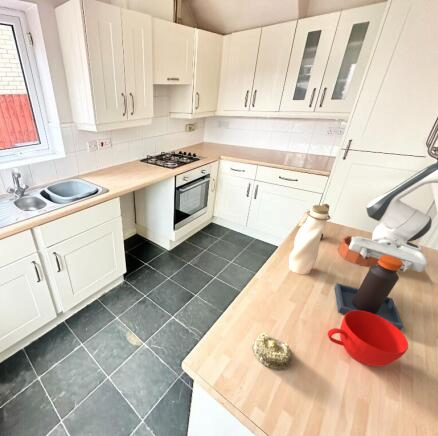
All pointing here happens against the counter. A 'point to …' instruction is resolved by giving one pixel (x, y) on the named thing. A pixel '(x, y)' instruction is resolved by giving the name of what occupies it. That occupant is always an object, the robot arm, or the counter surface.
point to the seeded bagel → (272, 352)
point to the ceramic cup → (370, 338)
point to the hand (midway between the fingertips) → (383, 263)
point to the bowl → (354, 254)
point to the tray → (346, 305)
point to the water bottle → (308, 239)
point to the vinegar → (377, 284)
